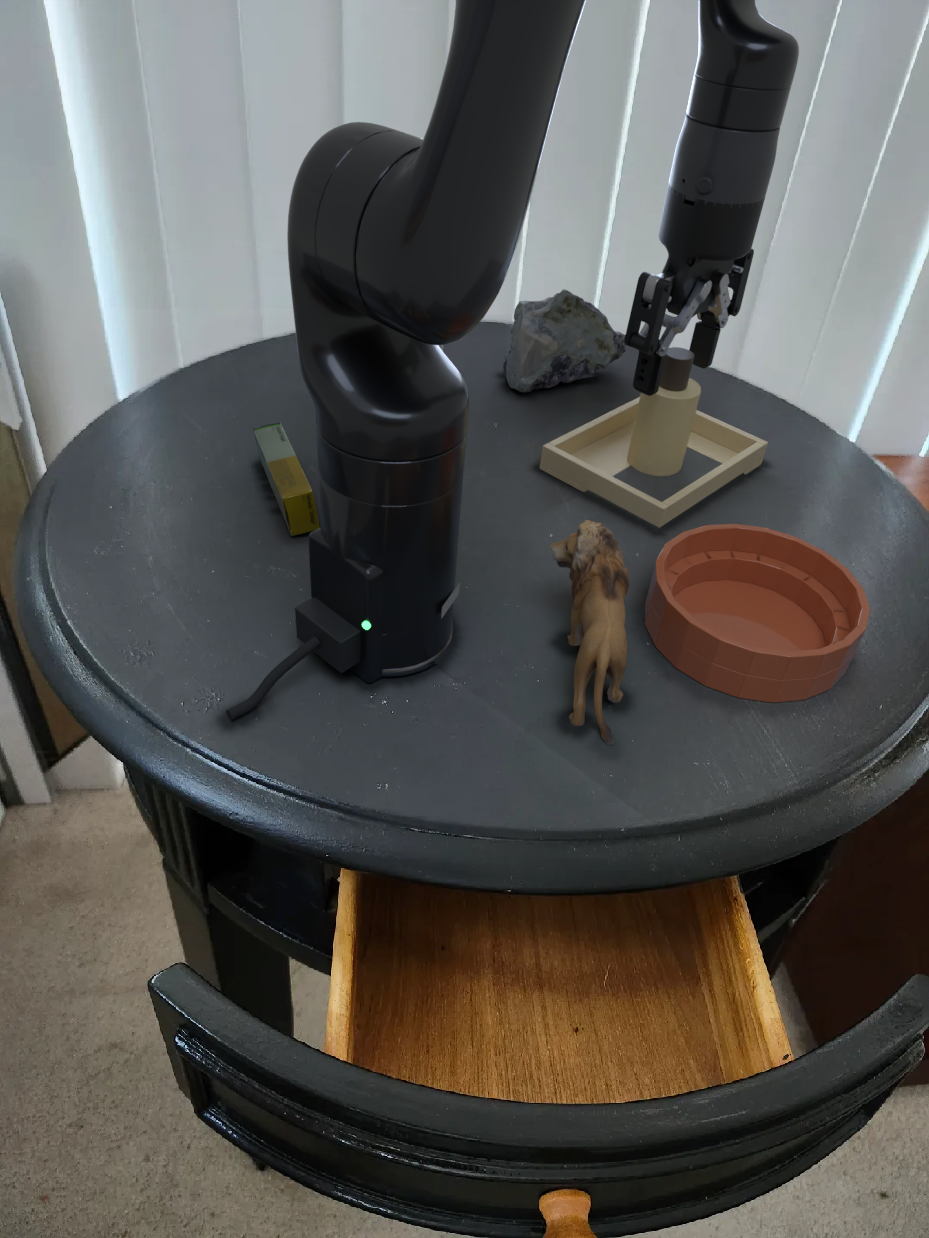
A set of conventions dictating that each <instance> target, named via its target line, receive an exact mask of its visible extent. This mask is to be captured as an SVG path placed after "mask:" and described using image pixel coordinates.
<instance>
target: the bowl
mask: <svg viewBox="0 0 929 1238" xmlns="http://www.w3.org/2000/svg"><path fill="white" fill-rule="evenodd" d="M870 614H871V607H870V604H869V601H868V598H867V594H866V591H865V589H864V586H862V584H861V583H860V582H859V581H858V580H857V578H856V577H855V576H854V574H853V573H852V572H851V570H850V569H848V567H846V566H845V564H843V563H841V562H840V561H838V560H837V559H836V558H835V557H833V556H832V555H830V554H829V553H828V552H827V551H825V550H824V549H821V548H819V547H818V546H816V545H813V544H811V543H810V542H809V541H805V540H804V539H802V538H800V537H797V536H795V535H791V534H788V533H785V532H781V531H779V530H775V529H771V528H769V527H764V526H756V525H749V524H747V525H746V524H741V523H724V524H723V523H722V524H720V523H719V524H705V525H702V526H698V527H695V528H692V529H688V530H685V531H682V532H681V533H679V534H678V535H676V536H675V537H673V538H672V539H670V540H669V541H667V542H665V544H664V546H663V547H662V549H661V551H660V553H659V554H658V556H657V558H656V560H655V564H654V568H653V570H652V575H651V579H650V583H649V587H648V591H647V595H646V598H645V601H644V626H645V629H646V630H647V633H648V634H649V637H650V638H651V640H652V643H653V645H654V646H655V648H656V649H657V651H659V652H660V653H661V655H662V656H663V657H664V658H665V659H666V660H667V661H668V662H669V663H670V664H671V665H672V667H674V668H675V669H677V670H679V671H680V672H681V673H683V674H685V675H686V676H688V677H689V678H691V679H693V680H694V681H696V682H698V683H699V684H701V685H702V686H704V687H707V688H710V689H712V690H715V691H718V692H720V693H724V694H726V695H729V696H732V697H734V698H738V699H742V700H743V699H744V700H750V701H758V702H765V703H774V704H775V703H786V702H796V701H799V702H800V701H805V700H807V699H810V698H812V697H815V696H819V695H820V694H822V693H825V692H827V691H829V690H831V689H832V688H834V686H835V685H836V684H837V683H838V682H839V681H840V680H841V679H842V678H843V677H844V675H846V673H847V670H848V668H849V666H850V664H851V662H852V660H853V658H854V656H855V653H856V651H857V649H858V647H859V645H860V643H861V641H862V639H863V636H864V635H865V633H866V631H867V626H868V623H869V617H870Z"/></svg>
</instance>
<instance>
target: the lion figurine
mask: <svg viewBox="0 0 929 1238" xmlns="http://www.w3.org/2000/svg"><path fill="white" fill-rule="evenodd" d="M549 548H550V551H551V554H552V558H553V560H555V561H556V565H557V566H558V568H568V569H569V573H568V578H569V579H570V580H571V587H570V588H571V596H572V600H573V604H572V608H571V613H570V634H568V635H567V639H568V644H569V645H570V646H573V647H578V646H579V649H578V652H577V657H576V660H575V663H574V671H573V672H574V673H573V703H572V708H573V711H572V712H571V713H570V714H569V715H568V719H569V721H570V723H571V725H573V726H576V727H582V726H584V724H585V713H586V709H587V708H586V707H587V701H586V689H587V686H588V683H589V681H590V679H591V677H592V675H593V673H594V672H595V677H594V687H593V688H594V689H593V711H594V716H595V719H596V722H597V725H598V728H599V730H600V737H601V739H602V740H603V741H604V743H605V744H606V745H608V746H613V745H614V744H615V738H614V736H613V733H612V730H611V728H610V726H609V725H608V724H607V722H606V719H605V717H604V713H603V691H604V684H605V680H606V676H607V677H608V682H609V686H608V689H607V691H606V694H607V700H608V701H609V702H611V703H613V704H617V703H620V702H621V700H622V698H623V697H624V693H623V692H622V690H621V689H620V686H621V683H622V679H623V678H624V674H625V671H626V667H627V657H628V649H629V647H628V646H629V645H628V641H627V639H628V638H627V631H626V628H625V625H626V617H627V616H626V615H627V613H626V607H625V600H626V595H627V593H628V591H629V587H630V580H629V575H630V573H629V570H628V568H627V567H626V566H625V559H624V556H623V551H622V548H621V547H620V546H619V545H618V539H617V538H616V537H615V536H614V533H613V532H612V530H611V529H609V528H607V527H606V526H604V524H603V523H602V522H598V521H593V520H588V519H585V520H584V521H583V522H582V523H580V524H579V525H578V527H577V532H572V533H570V534H569V535H568V536H567V538H565V539H563V540H560V541H555V542H553V543H552V544H551V545H550V547H549ZM606 674H607V675H606Z"/></svg>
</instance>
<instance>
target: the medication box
mask: <svg viewBox="0 0 929 1238" xmlns="http://www.w3.org/2000/svg"><path fill="white" fill-rule="evenodd" d="M281 423H282V422H273V423H267V424H264V425H260V426H258V427H254V428H253V429H252V430H253V434H254V439H255V441H256V446H257V451H258V455H259V459H260V463H261V466H262V467H263V470H264V473H265V475H266V478H267V481H268V482H269V486H270V488H271V491H272V493H273V495H274V498H275V500H276V503H277V505H278V508H279V511H280V513H281V515H282V518H283V520H284V523H285V525H286V527H287V530H288V532H289V534H290V536H291V537H293V536H298V535H302V534H306V533H311V532H313V531H315V530H317V529H319V528H320V520H319V517H318V511H317V505H316V500H315V495H314V491H313V489H312V487H311V485H310V482H309V480H308V477H307V476H306V473H305V471H304V469H303V467H302V465H301V462H300V461H299V459H298V457H297V455H296V452H295V450H294V448H293V446H292V444H291V442H290V439H289V437H288V435H287V433H286V431H285V428H284V427H283V424H281Z"/></svg>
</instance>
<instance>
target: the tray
mask: <svg viewBox="0 0 929 1238" xmlns="http://www.w3.org/2000/svg"><path fill="white" fill-rule="evenodd" d="M639 399H640V396H638V397H636V398H634V399H632V400H630V401H628V402H626V403H624V404H622V405H620V406H618V407H616V408H614V409H612V410H610V411H608V412H606V413H605V414H602V415H600V416H599V417H597V418H594V419H593V420H591V421H589V422H586V423H585V424H583V425H580V426H579V427H577V428H575V429H573V430H571V431H569V432H566V433H564V434H562V435H561V436H559V437H557V438H555V439H553V440H551V441H549V442H547V443H545V444H543V445H542V446H541V447H542V448H541V455H540V461H539V468H538V469H539V470H541V471H543V472H544V473H546V474H549V475H550V476H552V477H554V478H556V479H558V480H560V481H561V482H563V483H565V484H567V485H569V486H571V487H572V488H574V489H576V490H578V491H580V492H581V493H585V492H587V491H590V492H592V493H594V494H596V495H597V496H598V497H601V498H603V499H605V500H606V501H608V502H610V503H612V504H614V505H616V506H617V507H620V508H621V509H623V510H625V511H627V512H629V513H630V514H633V515H635V516H636V517H638V518H640V519H642V520H644V521H646V522H647V523H649V524H651V525H653V526H655V527H656V528H662V527H663V526H665V525H666V524H668V523H669V522H671V521H672V520H673V519H675V518H677V517H678V516H680V515H681V514H683V513H685V512H686V511H687V510H689V509H690V508H692V507H694V506H695V505H696V504H698V503H700V502H701V501H702V500H704V499H705V498H707V497H708V496H710V495H711V494H713V493H715V492H716V491H718V490H720V489H721V488H722V487H724V486H725V485H727V484H728V483H730V482H731V481H732V480H735V479H736V478H737V477H739V476H740V475H742V474H744V475H748V474H749V473H751V472H752V471H754V470H755V469H757V468H758V467H760V466H761V465H762V463H763V460H764V457H765V455H766V451H767V449H768V445H769V442H768V441H767V440H764V439H762V438H760V437H758V436H756V435H753V434H751V433H749V432H746V431H744V430H742V429H740V428H737V427H735V426H733V425H731V424H728V423H726V422H724V421H722V420H720V419H718V418H715V417H713V416H711V415H709V414H706V413H704V412H702V411H700V410H698V409H696V413H695V417H694V421H693V425H692V429H691V433H690V437H689V441H688V445H687V448H689V449H691V450H693V451H695V452H697V453H699V454H702V455H704V456H706V457H708V458H709V459H712V460H713V461H716V462H718V463H720V464H719V465H718V466H716V467H715V468H713V469H712V470H710V471H709V472H707V473H706V474H704V475H703V476H701V477H699V478H697V479H696V480H695V481H693V482H691V483H690V484H688V485H686V486H685V487H684V488H682V489H680V490H679V491H677V492H675V493H674V494H673V495H671V496H669V497H668V498H666V499H664V500H662V501H660V500H659V499H657V498H655V497H653V496H651V495H649V494H647V493H645V492H643V491H641V490H640V489H637V488H635V487H633V486H631V485H630V484H628V483H626V482H625V481H622V480H620V479H619V478H616V477H615V475H617V474H619V473H620V472H623V471H624V470H626V469H627V468H629V467H632V466H631V465H630V464H629V462H628V459H627V456H628V451H629V447H630V442H631V437H632V432H633V428H634V423H635V418H636V413H637V409H638V404H639Z"/></svg>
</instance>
